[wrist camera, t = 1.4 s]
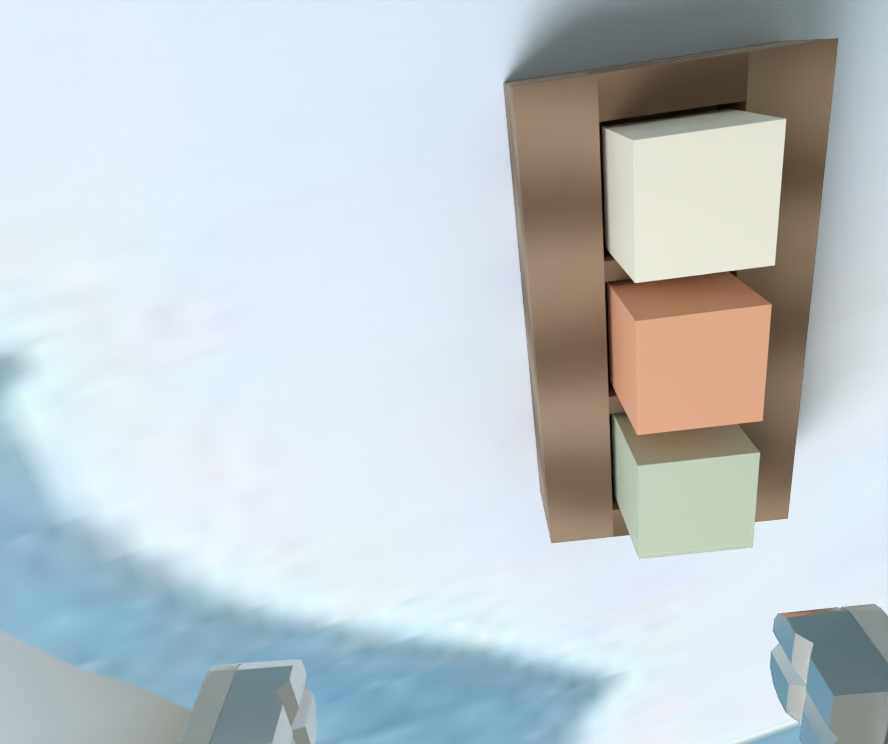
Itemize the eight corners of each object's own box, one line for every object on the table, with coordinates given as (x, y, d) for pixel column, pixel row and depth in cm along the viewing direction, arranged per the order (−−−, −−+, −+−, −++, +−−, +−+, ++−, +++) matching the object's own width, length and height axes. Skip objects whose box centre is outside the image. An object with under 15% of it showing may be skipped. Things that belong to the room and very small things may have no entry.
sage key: (611, 408, 32) (637, 465, 28) (715, 396, 32) (760, 452, 27) (613, 492, 34) (638, 558, 30) (712, 482, 34) (752, 547, 29)
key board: (503, 82, 29) (512, 86, 25) (782, 41, 28) (838, 38, 24) (540, 491, 38) (551, 543, 34) (751, 469, 38) (787, 518, 34)
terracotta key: (606, 280, 29) (635, 321, 25) (721, 266, 29) (771, 304, 25) (610, 381, 31) (637, 435, 27) (717, 368, 31) (762, 420, 27)
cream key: (601, 126, 27) (633, 140, 22) (728, 108, 26) (786, 118, 22) (605, 247, 29) (634, 283, 24) (722, 232, 28) (774, 265, 24)
